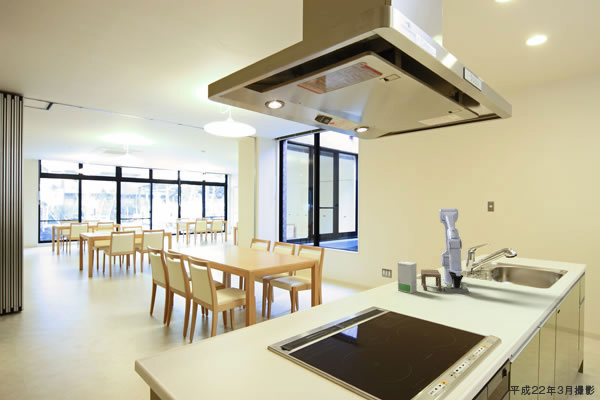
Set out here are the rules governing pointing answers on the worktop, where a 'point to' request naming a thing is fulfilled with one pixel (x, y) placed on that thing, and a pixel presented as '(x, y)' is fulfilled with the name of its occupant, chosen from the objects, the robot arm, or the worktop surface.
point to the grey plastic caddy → (456, 290)
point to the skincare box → (407, 277)
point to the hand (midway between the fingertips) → (456, 286)
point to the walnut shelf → (430, 274)
